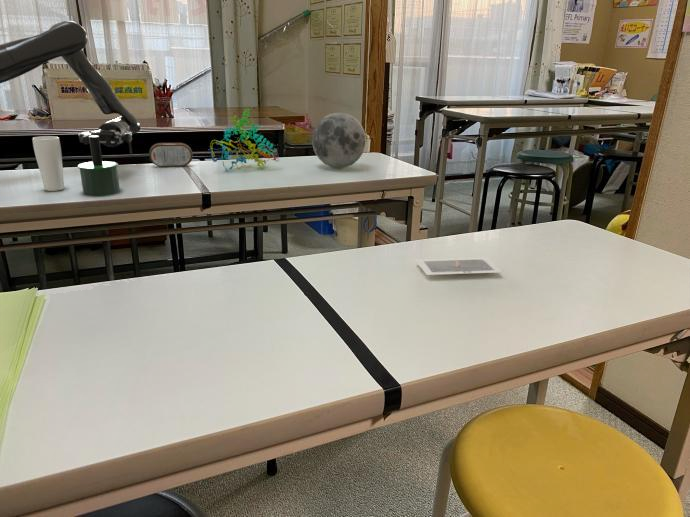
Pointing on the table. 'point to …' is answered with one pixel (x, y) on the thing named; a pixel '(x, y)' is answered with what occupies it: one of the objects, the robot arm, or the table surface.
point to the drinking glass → (49, 161)
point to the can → (100, 182)
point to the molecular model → (245, 143)
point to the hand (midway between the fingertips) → (100, 140)
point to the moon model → (339, 140)
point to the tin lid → (96, 157)
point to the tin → (170, 154)
